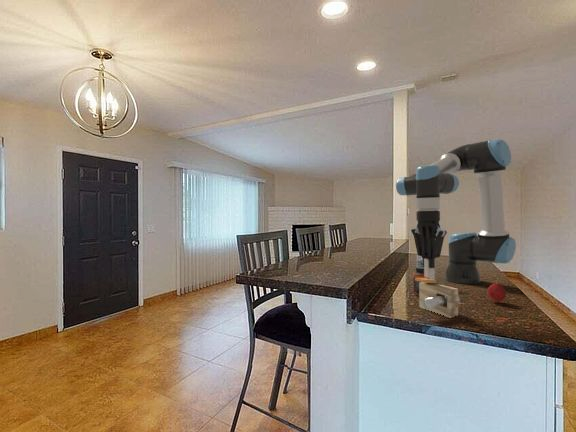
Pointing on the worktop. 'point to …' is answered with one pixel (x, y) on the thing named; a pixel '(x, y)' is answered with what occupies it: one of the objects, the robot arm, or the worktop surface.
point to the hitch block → (437, 290)
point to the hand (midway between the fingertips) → (428, 276)
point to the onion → (496, 292)
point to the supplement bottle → (418, 274)
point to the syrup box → (420, 264)
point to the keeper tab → (427, 280)
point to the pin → (436, 301)
